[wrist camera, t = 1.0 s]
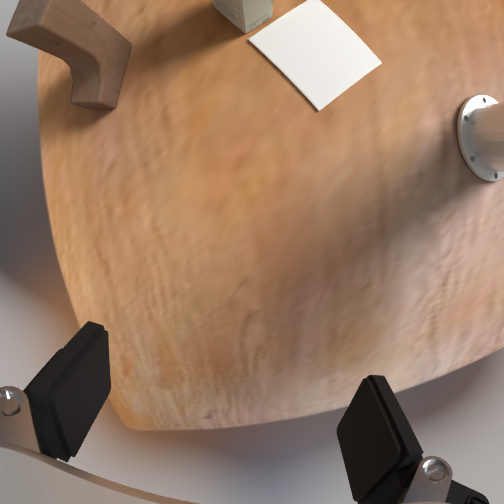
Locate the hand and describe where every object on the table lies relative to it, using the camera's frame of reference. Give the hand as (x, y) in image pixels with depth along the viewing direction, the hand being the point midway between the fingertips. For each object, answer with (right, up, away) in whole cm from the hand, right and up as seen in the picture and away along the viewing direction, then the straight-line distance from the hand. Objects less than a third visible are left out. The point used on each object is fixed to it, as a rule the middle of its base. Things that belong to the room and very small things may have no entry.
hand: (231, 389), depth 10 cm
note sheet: (+8, +29, +20) cm, 36 cm away
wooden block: (-17, +27, +21) cm, 38 cm away
